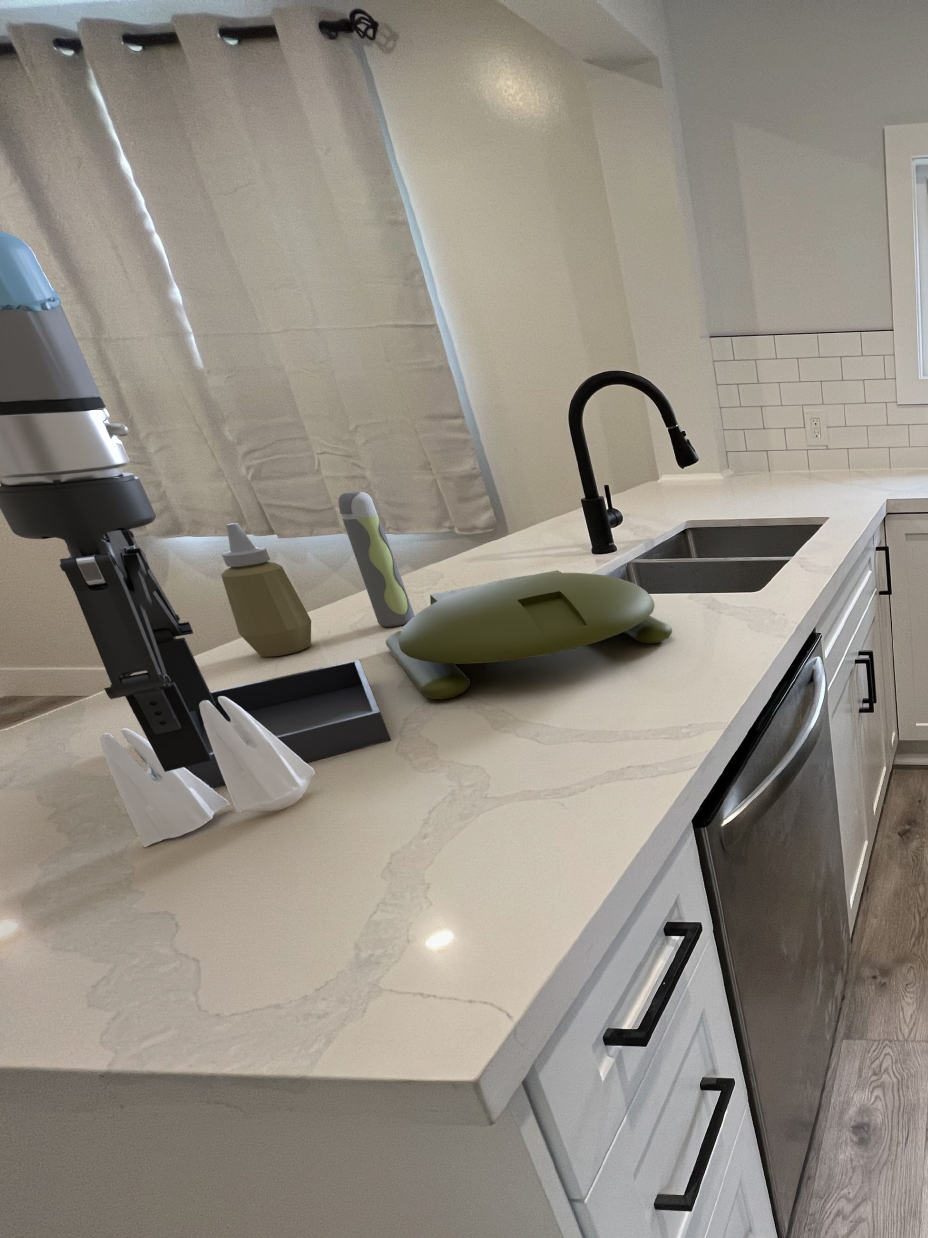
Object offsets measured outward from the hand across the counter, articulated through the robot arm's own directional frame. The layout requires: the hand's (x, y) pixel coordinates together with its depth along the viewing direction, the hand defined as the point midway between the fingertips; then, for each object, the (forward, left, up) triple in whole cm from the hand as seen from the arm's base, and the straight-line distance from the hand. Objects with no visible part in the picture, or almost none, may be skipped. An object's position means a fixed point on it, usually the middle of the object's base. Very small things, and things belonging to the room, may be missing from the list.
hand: (192, 735), depth 64 cm
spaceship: (-27, +32, -8) cm, 43 cm away
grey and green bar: (-57, +19, -8) cm, 60 cm away
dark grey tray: (-19, +5, -8) cm, 21 cm away
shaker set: (0, 0, -8) cm, 8 cm away
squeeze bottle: (-54, +5, -8) cm, 55 cm away
